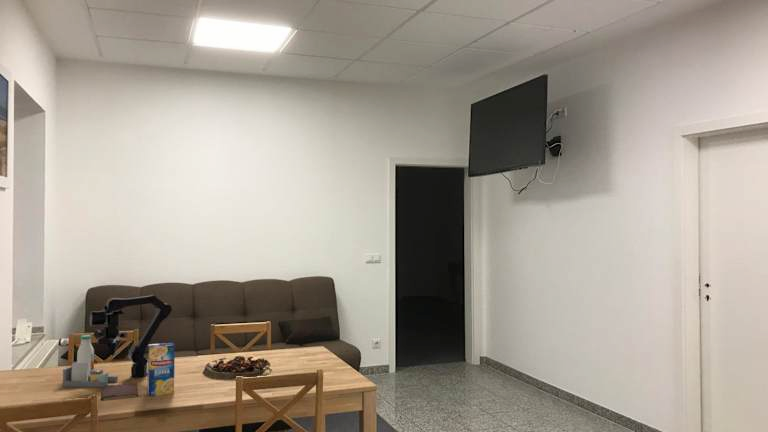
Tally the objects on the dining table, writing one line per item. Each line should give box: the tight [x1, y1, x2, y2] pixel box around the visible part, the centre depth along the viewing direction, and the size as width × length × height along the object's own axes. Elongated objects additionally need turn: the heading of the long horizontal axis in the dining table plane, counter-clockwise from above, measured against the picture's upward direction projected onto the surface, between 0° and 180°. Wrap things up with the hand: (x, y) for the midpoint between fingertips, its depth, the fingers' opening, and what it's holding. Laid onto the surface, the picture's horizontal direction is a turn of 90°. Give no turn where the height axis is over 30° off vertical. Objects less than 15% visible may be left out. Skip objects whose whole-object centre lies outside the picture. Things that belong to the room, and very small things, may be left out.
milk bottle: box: [76, 334, 95, 376], centre depth 302 cm, size 8×8×20 cm
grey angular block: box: [71, 362, 88, 381], centre depth 286 cm, size 4×7×10 cm, turn 111°
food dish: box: [201, 355, 271, 380], centre depth 312 cm, size 35×33×8 cm
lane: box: [62, 365, 119, 388], centre depth 286 cm, size 21×10×8 cm, turn 88°
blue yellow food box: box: [146, 342, 176, 397], centre depth 271 cm, size 7×11×22 cm, turn 116°
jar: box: [90, 369, 104, 381], centre depth 286 cm, size 6×6×6 cm
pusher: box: [98, 371, 109, 381], centre depth 286 cm, size 1×8×4 cm, turn 178°
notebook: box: [100, 382, 139, 401], centre depth 272 cm, size 15×20×2 cm
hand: (112, 355), depth 294 cm, fingers closed
